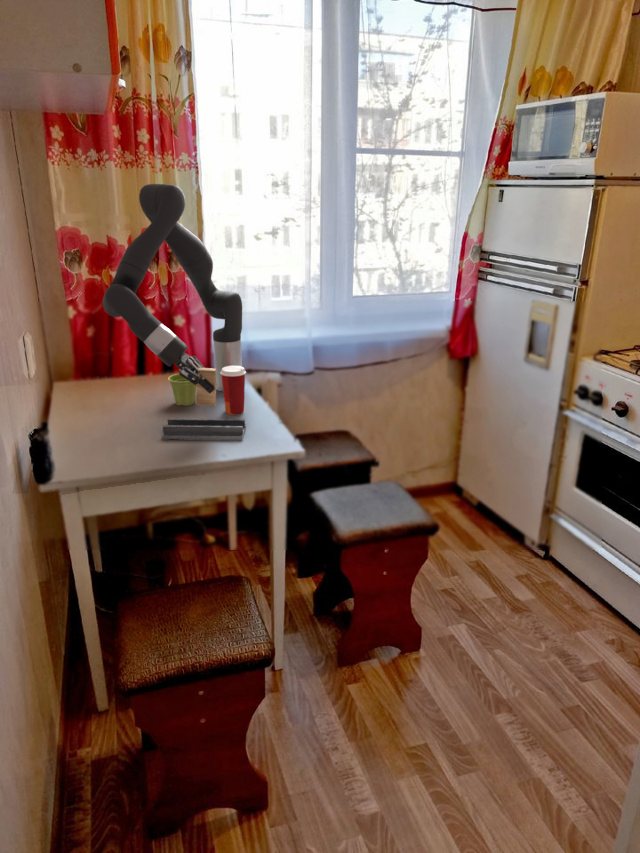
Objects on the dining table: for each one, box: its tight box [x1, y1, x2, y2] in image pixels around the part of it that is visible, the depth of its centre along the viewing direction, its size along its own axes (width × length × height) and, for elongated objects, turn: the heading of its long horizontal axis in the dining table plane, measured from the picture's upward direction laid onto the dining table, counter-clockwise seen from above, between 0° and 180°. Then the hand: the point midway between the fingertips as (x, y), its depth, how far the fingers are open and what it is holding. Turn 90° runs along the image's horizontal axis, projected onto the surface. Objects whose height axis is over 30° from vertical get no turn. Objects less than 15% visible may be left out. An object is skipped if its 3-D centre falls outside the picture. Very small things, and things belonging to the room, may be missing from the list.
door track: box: [161, 418, 247, 441], centre depth 172 cm, size 10×22×3 cm, turn 90°
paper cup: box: [220, 366, 247, 416], centre depth 187 cm, size 8×8×14 cm
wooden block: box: [195, 367, 217, 407], centre depth 168 cm, size 2×5×10 cm, turn 90°
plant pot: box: [167, 373, 196, 407], centre depth 196 cm, size 9×9×9 cm
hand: (213, 388), depth 168 cm, fingers closed on wooden block, 2 cm apart
